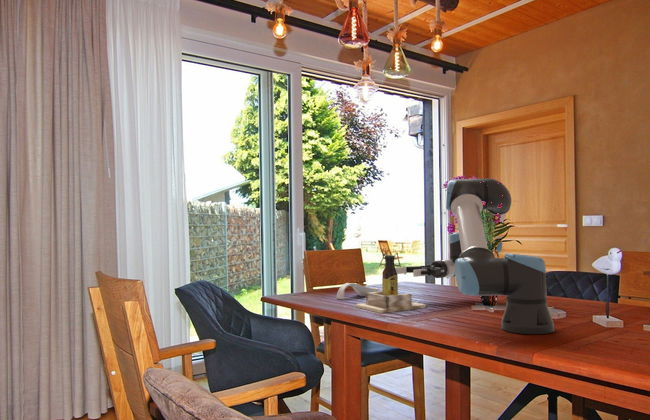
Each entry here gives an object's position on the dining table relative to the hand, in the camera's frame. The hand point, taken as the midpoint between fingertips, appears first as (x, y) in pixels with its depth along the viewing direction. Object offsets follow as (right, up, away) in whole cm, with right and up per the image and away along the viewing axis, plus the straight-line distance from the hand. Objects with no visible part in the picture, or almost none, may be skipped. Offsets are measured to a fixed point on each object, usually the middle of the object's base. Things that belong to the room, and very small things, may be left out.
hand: (403, 272), depth 205 cm
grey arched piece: (-17, -16, +29) cm, 37 cm away
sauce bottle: (-6, -13, -4) cm, 15 cm away
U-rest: (-6, -14, -4) cm, 16 cm away
